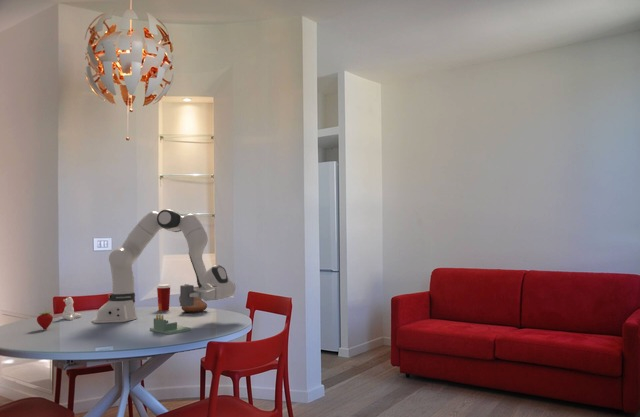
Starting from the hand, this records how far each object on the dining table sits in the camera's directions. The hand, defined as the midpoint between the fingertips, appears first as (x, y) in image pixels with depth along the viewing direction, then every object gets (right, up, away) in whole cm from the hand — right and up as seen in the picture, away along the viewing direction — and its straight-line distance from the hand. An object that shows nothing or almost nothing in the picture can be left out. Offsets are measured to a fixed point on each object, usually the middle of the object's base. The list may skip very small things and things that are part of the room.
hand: (185, 294), depth 262 cm
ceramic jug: (-7, -18, +47) cm, 51 cm away
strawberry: (-69, -17, -1) cm, 71 cm away
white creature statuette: (-71, -18, +29) cm, 79 cm away
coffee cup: (-27, -18, +55) cm, 64 cm away
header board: (-6, -16, -7) cm, 18 cm away
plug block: (+1, -6, 0) cm, 6 cm away
